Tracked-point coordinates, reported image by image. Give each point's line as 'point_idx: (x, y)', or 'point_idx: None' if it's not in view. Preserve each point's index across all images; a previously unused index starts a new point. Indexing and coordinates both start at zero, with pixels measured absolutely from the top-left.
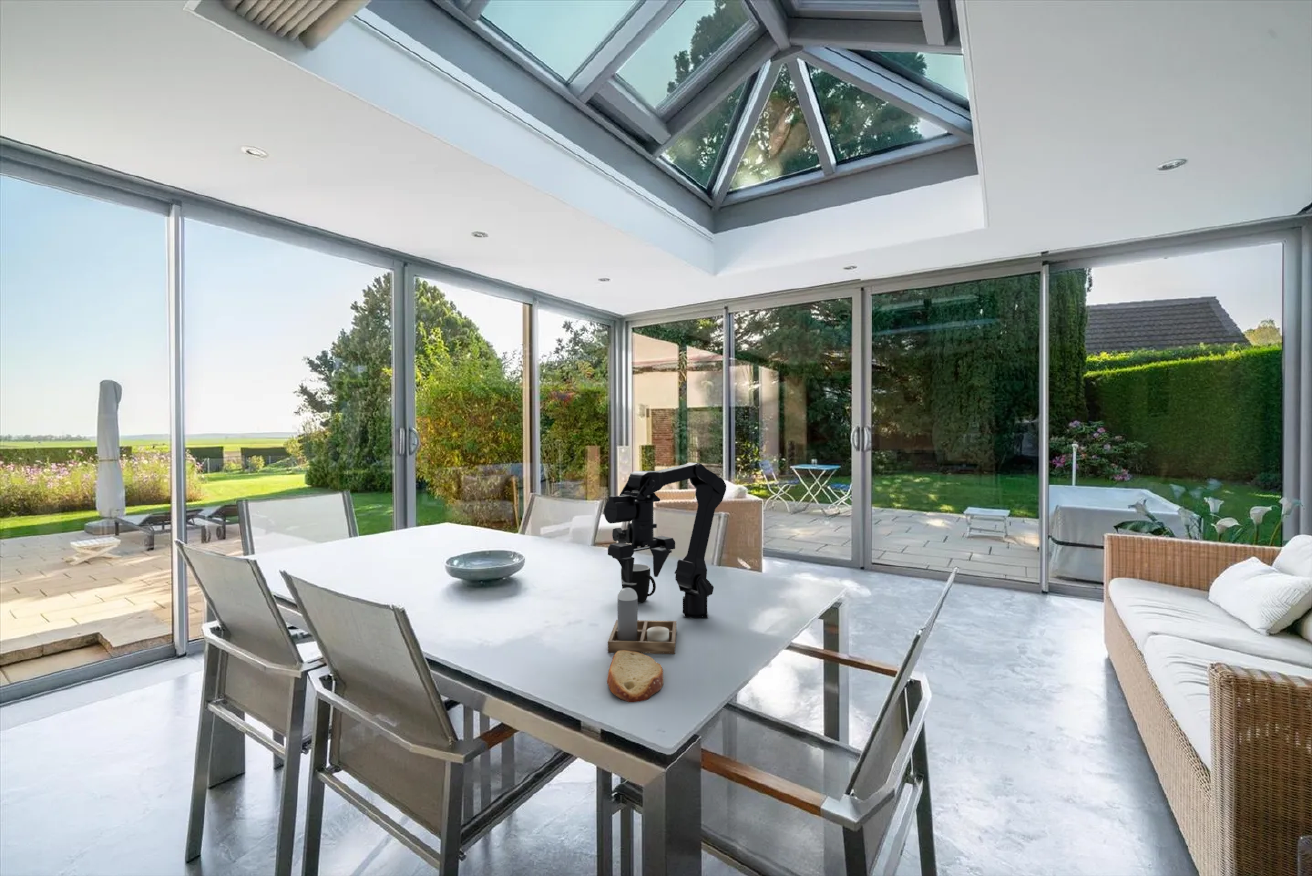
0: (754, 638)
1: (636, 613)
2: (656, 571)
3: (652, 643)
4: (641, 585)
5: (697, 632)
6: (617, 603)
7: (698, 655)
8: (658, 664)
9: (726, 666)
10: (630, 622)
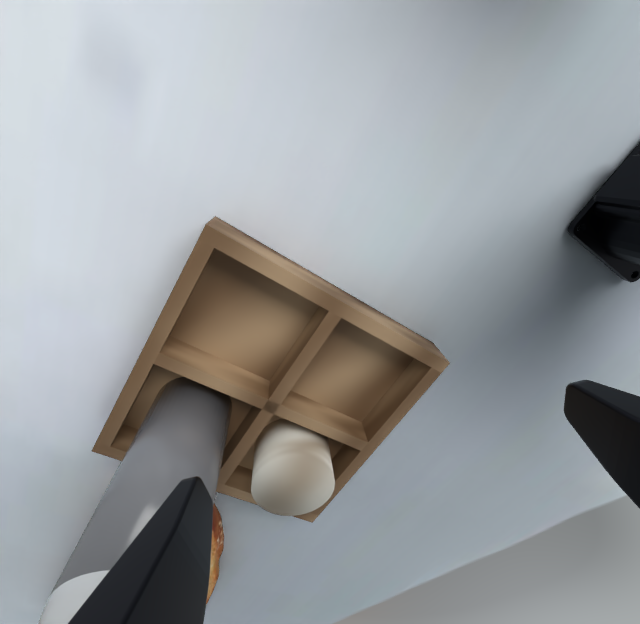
0: (566, 476)
1: None
2: (620, 463)
3: (248, 500)
4: None
5: (480, 383)
6: (69, 559)
7: (361, 513)
8: (209, 583)
9: (377, 569)
10: None
